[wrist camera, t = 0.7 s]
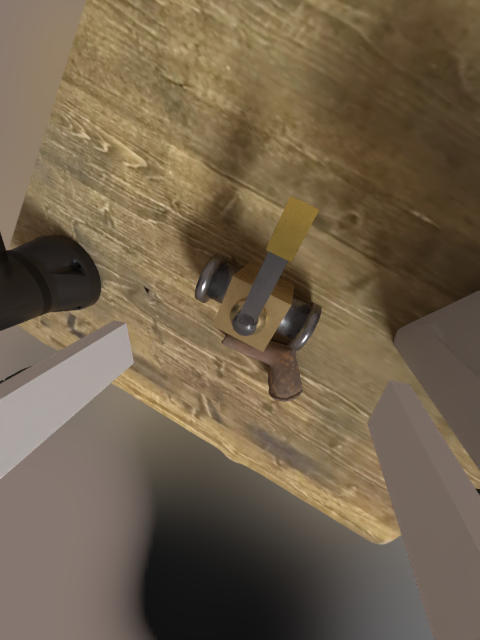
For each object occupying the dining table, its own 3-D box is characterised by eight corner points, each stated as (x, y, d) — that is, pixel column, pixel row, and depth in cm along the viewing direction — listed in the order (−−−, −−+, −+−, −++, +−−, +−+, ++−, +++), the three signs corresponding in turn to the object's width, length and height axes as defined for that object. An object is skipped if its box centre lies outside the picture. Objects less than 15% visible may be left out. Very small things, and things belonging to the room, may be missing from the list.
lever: (252, 333, 28) (249, 340, 26) (232, 323, 28) (228, 329, 26) (319, 210, 20) (320, 210, 19) (290, 197, 20) (289, 195, 19)
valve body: (209, 291, 38) (182, 313, 30) (224, 249, 34) (197, 260, 26) (294, 335, 37) (291, 370, 29) (320, 297, 33) (325, 325, 25)
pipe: (219, 330, 36) (208, 380, 39) (319, 363, 33) (298, 413, 36) (230, 320, 42) (220, 363, 45) (315, 347, 39) (297, 391, 42)
